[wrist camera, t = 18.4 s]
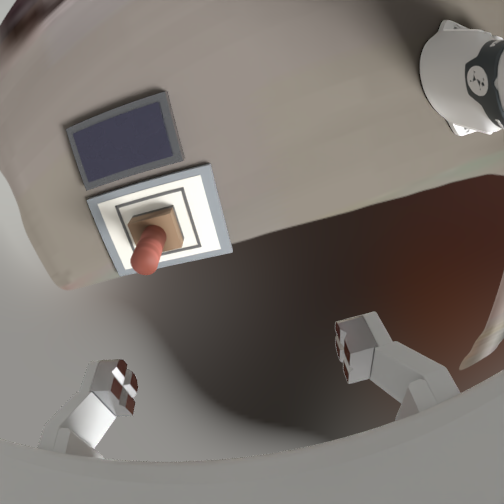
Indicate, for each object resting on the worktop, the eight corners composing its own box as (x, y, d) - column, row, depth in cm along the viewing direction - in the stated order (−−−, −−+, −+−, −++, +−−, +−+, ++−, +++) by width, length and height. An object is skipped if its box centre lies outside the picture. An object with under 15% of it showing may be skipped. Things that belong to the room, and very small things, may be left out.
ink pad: (167, 91, 32) (164, 91, 31) (184, 157, 37) (182, 161, 35) (71, 127, 33) (64, 129, 31) (90, 186, 37) (85, 191, 36)
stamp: (173, 204, 39) (160, 237, 31) (184, 237, 42) (175, 276, 34) (132, 215, 39) (112, 249, 32) (145, 246, 42) (129, 285, 34)
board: (210, 163, 38) (209, 165, 37) (232, 249, 44) (232, 252, 44) (88, 198, 38) (86, 200, 37) (121, 273, 45) (119, 277, 44)
